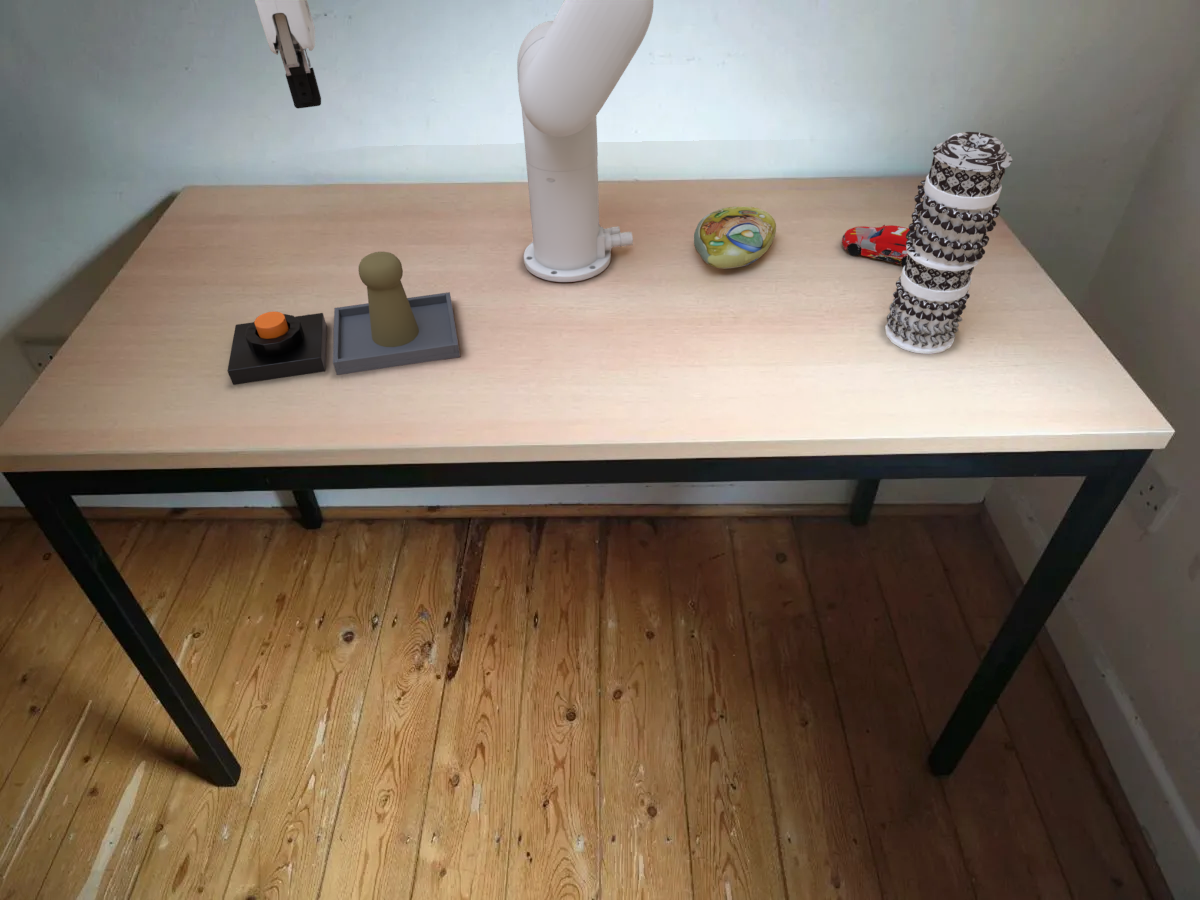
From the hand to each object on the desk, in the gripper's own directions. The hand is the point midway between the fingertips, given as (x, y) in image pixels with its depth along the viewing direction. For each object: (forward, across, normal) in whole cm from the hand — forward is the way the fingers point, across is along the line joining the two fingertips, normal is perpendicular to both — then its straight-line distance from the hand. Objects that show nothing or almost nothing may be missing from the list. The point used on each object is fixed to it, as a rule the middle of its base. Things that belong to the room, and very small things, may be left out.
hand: (308, 104), depth 103 cm
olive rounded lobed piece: (+24, -18, -5) cm, 30 cm away
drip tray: (+24, -18, -5) cm, 30 cm away
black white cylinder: (+26, -35, -69) cm, 82 cm away
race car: (+26, -16, -75) cm, 81 cm away
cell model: (+25, -10, -54) cm, 60 cm away
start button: (+20, -17, +10) cm, 28 cm away
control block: (+24, -17, +10) cm, 31 cm away
